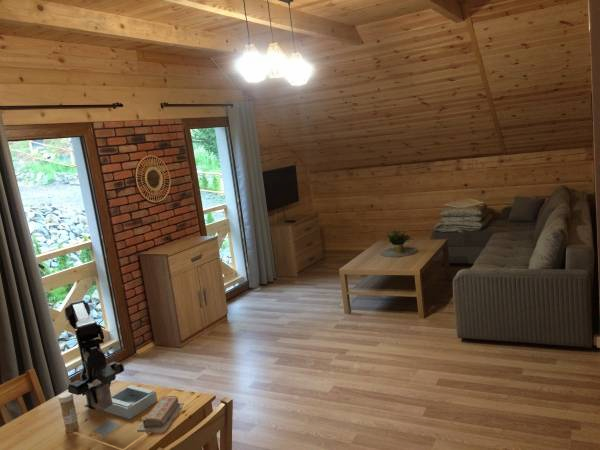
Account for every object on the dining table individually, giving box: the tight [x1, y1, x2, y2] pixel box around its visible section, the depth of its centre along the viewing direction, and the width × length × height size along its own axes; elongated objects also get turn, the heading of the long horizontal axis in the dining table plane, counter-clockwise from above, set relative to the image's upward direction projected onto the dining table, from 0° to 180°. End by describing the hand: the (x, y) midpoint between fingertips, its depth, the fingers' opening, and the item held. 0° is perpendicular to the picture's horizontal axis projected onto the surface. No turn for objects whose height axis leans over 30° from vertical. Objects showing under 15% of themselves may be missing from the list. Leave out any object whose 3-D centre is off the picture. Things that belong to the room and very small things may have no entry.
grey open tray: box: [103, 384, 158, 420], centre depth 196 cm, size 14×13×5 cm
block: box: [90, 380, 112, 411], centre depth 180 cm, size 4×6×8 cm, turn 57°
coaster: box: [91, 420, 122, 436], centre depth 182 cm, size 7×7×1 cm
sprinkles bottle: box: [58, 391, 80, 434], centre depth 184 cm, size 5×5×13 cm
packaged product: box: [136, 395, 185, 434], centre depth 186 cm, size 18×5×10 cm
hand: (101, 400), depth 181 cm, fingers closed on block, 4 cm apart
